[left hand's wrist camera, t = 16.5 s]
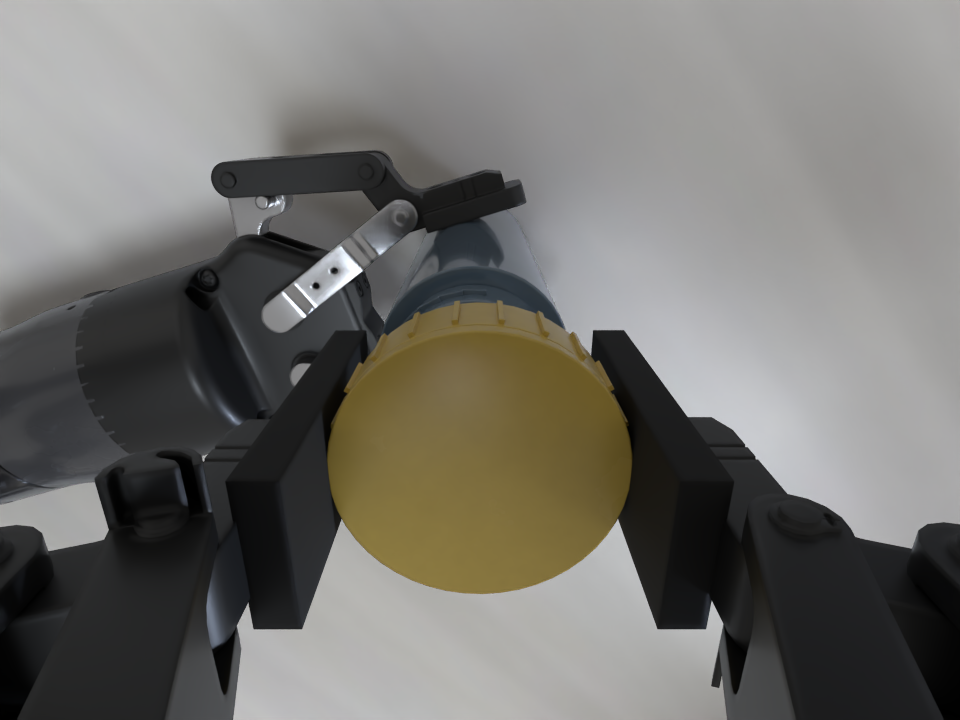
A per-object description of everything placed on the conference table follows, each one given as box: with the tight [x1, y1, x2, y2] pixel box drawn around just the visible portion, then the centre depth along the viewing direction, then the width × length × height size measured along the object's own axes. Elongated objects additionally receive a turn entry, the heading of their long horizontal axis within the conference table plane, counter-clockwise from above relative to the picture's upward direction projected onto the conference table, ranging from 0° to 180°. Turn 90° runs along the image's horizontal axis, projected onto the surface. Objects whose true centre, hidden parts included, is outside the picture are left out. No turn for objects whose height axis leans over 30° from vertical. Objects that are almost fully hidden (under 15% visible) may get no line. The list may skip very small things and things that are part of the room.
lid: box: [327, 300, 632, 594], centre depth 11 cm, size 6×6×2 cm
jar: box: [381, 210, 565, 336], centre depth 21 cm, size 5×5×16 cm
